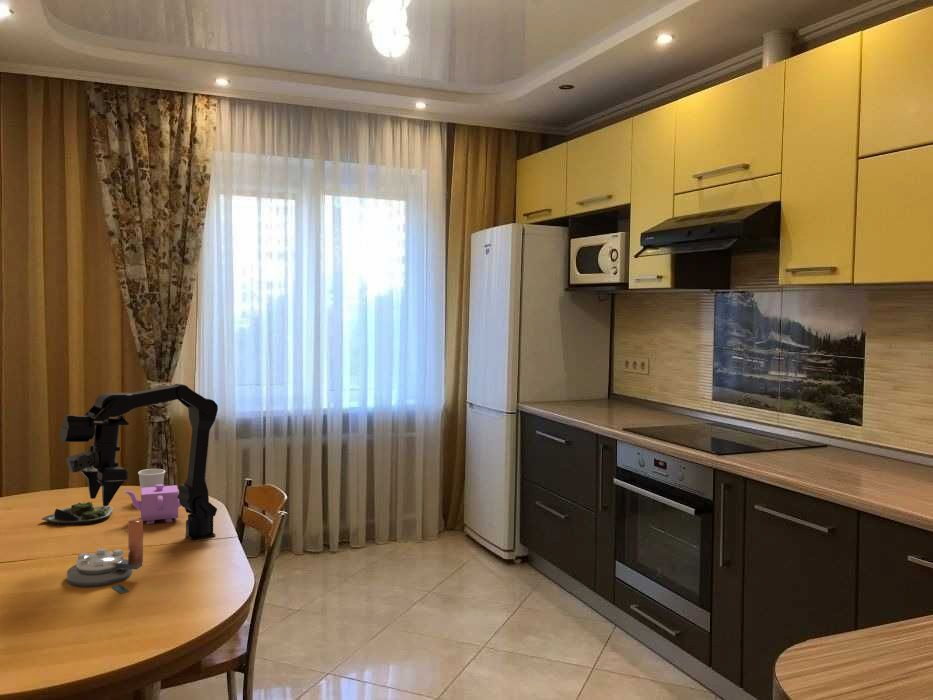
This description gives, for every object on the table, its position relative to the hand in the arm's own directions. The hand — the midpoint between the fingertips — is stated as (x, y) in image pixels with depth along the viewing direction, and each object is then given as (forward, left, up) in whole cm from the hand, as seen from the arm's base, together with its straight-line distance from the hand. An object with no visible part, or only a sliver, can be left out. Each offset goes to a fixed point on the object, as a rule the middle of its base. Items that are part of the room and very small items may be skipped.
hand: (98, 502), depth 183 cm
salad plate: (-3, -40, -15) cm, 43 cm away
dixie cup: (-26, -48, -15) cm, 57 cm away
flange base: (+3, +17, -15) cm, 23 cm away
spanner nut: (+1, +16, -12) cm, 20 cm away
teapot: (-22, -25, -15) cm, 37 cm away
